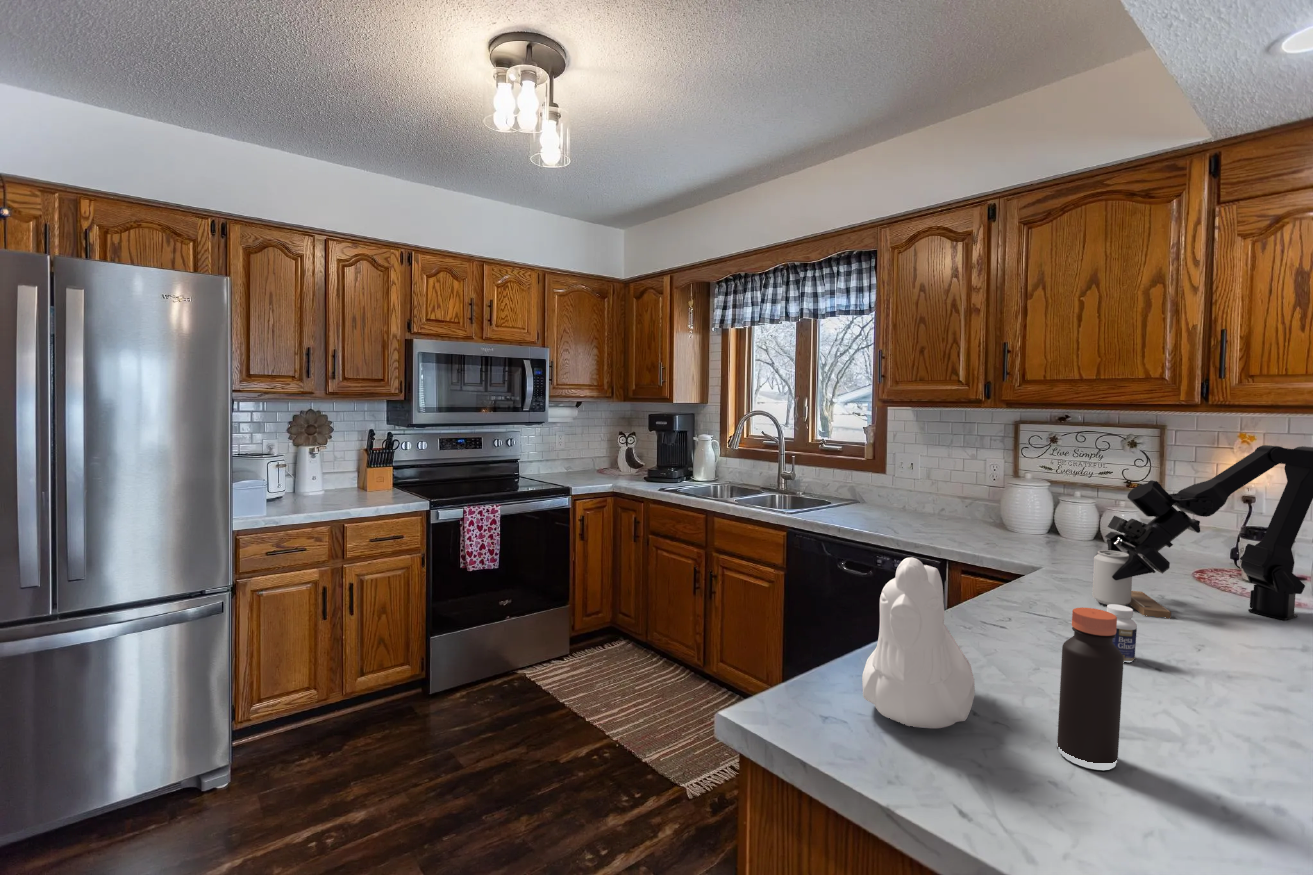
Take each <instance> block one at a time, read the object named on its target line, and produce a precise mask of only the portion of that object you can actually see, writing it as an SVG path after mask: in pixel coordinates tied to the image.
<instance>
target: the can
mask: <svg viewBox="0 0 1313 875" xmlns="http://www.w3.org/2000/svg"><path fill="white" fill-rule="evenodd" d="M1128 559H1129V554H1127V553H1124V552H1119V551H1111V550H1108V549H1100V550H1098V551H1097V554H1096V555H1095V556H1094V557H1093V572H1092V573H1093V575H1092V578H1093V579H1092V597H1093V599H1094V600H1095V601H1096V602H1098V603H1100V604H1103V605H1109V604H1116V605H1122V606H1127V605H1129V604H1128V603H1130V602H1131V591H1133V590H1132V589H1133V587H1132V586H1133V585H1132V584H1133V577H1129V578H1125V579H1120V580H1114V579H1113V578H1112V576H1113V575H1114V574H1115V572H1116V571H1117V570H1118V569H1119V568H1120V567H1121V566H1122V565H1123V564H1124V563H1125V562H1126V561H1127V560H1128Z"/></svg>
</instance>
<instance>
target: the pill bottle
mask: <svg viewBox="0 0 1313 875" xmlns="http://www.w3.org/2000/svg"><path fill="white" fill-rule="evenodd" d="M1106 605H1107V604H1106ZM1106 611H1107V612H1109V613H1112V614H1114V615H1115V616H1116V617H1117V628H1116V634H1115V635H1116V636H1115V638H1113V644H1114V645H1115V646H1116V647H1117V648H1118V649H1119V650H1120V652H1121V653H1122V655H1123V657H1124V661H1133V660H1134V659H1135V658H1136V646H1137V631H1138V628H1137V626H1138V624H1137V622H1136V621H1134V620H1133V618H1134V608H1133V607H1129V606H1127V605H1125V606H1122V605H1116V604H1109V605H1107V606H1106ZM1134 661H1135V660H1134Z"/></svg>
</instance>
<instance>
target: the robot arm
mask: <svg viewBox="0 0 1313 875" xmlns="http://www.w3.org/2000/svg"><path fill="white" fill-rule="evenodd" d="M1279 464H1280V465H1284V468H1283V469H1284V473H1285V476H1286V480H1287V481H1286V485H1285V487H1284V489H1283V491H1282V494H1281V496H1280V499H1279V500H1278V503H1277V505H1276V508H1275V509H1274V513H1273V514H1272V516H1271V519H1270V522H1269V523H1268V526H1267V528H1266V531H1265V533H1264V536H1263V538H1262V539H1261V540H1260V541H1259V542H1257V543H1256V544H1251V543H1247V544H1246V546H1245V549H1244V552H1243V554H1242V556H1241V557H1240V558H1239V560H1240V561H1241V566H1240V567H1241V569H1242V571H1243V572H1244V574H1246V577H1247V580H1248V582H1249V583H1251V584H1253V589H1252V590H1251V591H1250V596H1249V597H1250V598H1249V608H1248V610H1247V611H1248V612H1249V613H1254V614H1257V615H1262V616H1265V617H1270V618H1273V619H1277V620H1280V621H1281V620H1282V621H1287V620H1291V619H1295V618H1298V616H1299V615H1298V614H1297V613H1295V607H1296V595H1302V594H1303V591H1304V590H1305V588H1306V585H1305V584H1304V583H1303V581H1302V580H1300V579H1299V578H1298V577H1297V576H1296V575H1295V574H1294V573H1293V571H1294V568H1295V559H1294V558H1295V557H1294V555H1293V554H1294V553H1293V550H1292V549H1293V545H1294V544H1295V541H1296V539H1297V536H1298V535H1299V532H1300V529H1301V527H1302V525H1303V523H1304V521H1305V518H1306V516H1307V514H1308V511H1309V509H1310V507H1311V504H1312V501H1313V446H1306V445H1304V446H1303V445H1301V446H1297V447H1295V448H1288V447H1283V446H1279V445H1268V444H1263V445H1260V446H1257V447H1256V448H1255V450H1254V451H1253V452H1251V453H1249V454H1248V455H1247V456H1244V457H1243V458H1241V459H1240V460H1239V461H1237V462H1236V463H1235V462H1234V464H1233V465H1230V466H1229V467H1228V468H1226V469H1225V470H1223V471H1221V472H1220V473H1219V474H1218V473H1217V475H1216V476H1213V477H1212V478H1210V479H1208V480H1206V481H1201V482H1198V483H1194V484H1192V485H1189V486H1187V487H1184V488H1181V489H1180V490H1179V491H1177V492H1175V493H1169V492H1167V491H1166V490H1165V489H1164V488H1163V487H1162V484H1160V483H1159V482H1158V481H1157V480H1149V481H1148V482H1147V483H1143V484H1142V483H1141V484H1139V485H1138V486H1136V487H1135V486H1134V487H1133V488H1132V489H1131V490H1130V491H1129V492H1128V493H1127V496H1126V498H1127V499H1128V500H1129V501H1130V502H1131V503H1132V504H1133V505H1134V507H1136V508H1137V509H1138V510H1139V511H1140V512H1141V513H1143V515H1145V516H1146V517H1154V518H1153V519H1152V520H1150V521H1149V522H1148V523H1146V522H1141V521H1140V520H1137V519H1136V518H1130V519H1128V520H1127V519H1125V518H1122V517H1119V516H1117V515H1113V517H1112V519H1111V520H1110V521H1109V523H1108V525H1107V528H1108V529H1111V530H1114V531H1110V532H1108V533H1107V534H1106V535H1105V536H1104V537H1105V539H1106V543H1107V550H1111V551H1119V552H1124V553H1127V554H1129V559H1128V560H1127V561H1126V562H1125V563H1124V564H1123V565H1122V566H1121V567H1120V568H1119V569H1118V570H1117V571H1116V572H1115V574H1114V575H1113V576H1112V578H1113V579H1114V580H1120V579H1125V578H1129V577H1132V578H1133V577H1137V576H1141V575H1148V574H1155V573H1157V572H1159V573H1161V574H1164V573H1165V572H1167V570H1169V569H1171V568H1170V564H1171V562H1170V561H1169V560H1168V559H1167V558H1165V556H1163V554H1161V552H1160V551H1161V550H1162V549H1164V548H1165V547H1168V548H1169V549H1170V548H1171V547H1172V546H1173V545H1174V544H1173V542H1172V541H1174V540H1175V539H1177V538H1178V537H1179V536H1180V535H1181V534H1183V533H1184V532H1185V531H1187V530H1189V531H1192V532H1194V533H1197V534H1199V533H1201V526H1200V524H1201V521H1200V520H1198V519H1196V518H1191V517H1190V516H1189V515H1188V514H1191V515H1195V516H1199V517H1204V518H1205V517H1211V516H1213V515H1214V514H1215V513H1217V512H1218V511H1219V510H1221V508H1222V507H1224V505H1225V504H1227V500H1228V499H1229V497H1230V496H1231V495H1232V494H1234V493H1235V492H1236V491H1239V490H1240V489H1241V488H1243V487H1245V486H1246V485H1248V484H1249V483H1251V482H1252V481H1254V480H1255V479H1257V478H1259V477H1260V476H1262V475H1263V474H1265V473H1266V472H1268V471H1270V470H1272V469H1273V468H1274V467H1276V466H1278V465H1279ZM1174 506H1175V507H1176V508H1178V509H1176V508H1175V507H1174Z"/></svg>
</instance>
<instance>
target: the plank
mask: <svg viewBox="0 0 1313 875" xmlns="http://www.w3.org/2000/svg"><path fill="white" fill-rule="evenodd" d="M1129 604H1130V605H1129ZM1127 605H1129V606H1131V608H1132V609H1133V610H1136V611H1137V612H1138V611H1139V612H1140V613H1139V614H1140V615H1142V616H1143V615H1145V616H1144V617H1149V616H1155V617H1154V618H1159V617H1166V618H1165V619H1169V618H1170V619H1171V617H1172V616H1171V613H1172V612H1171V611H1170V610H1168V609H1167V608H1166V607H1164V606H1163V605H1162V604H1160V603H1159V602H1157V601H1156V600H1154V599H1153V598H1152V597H1150V595H1147V594H1146V593H1145V592H1143V591H1138V590H1131V602H1130V603H1128V604H1127ZM1146 615H1147V616H1146Z"/></svg>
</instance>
